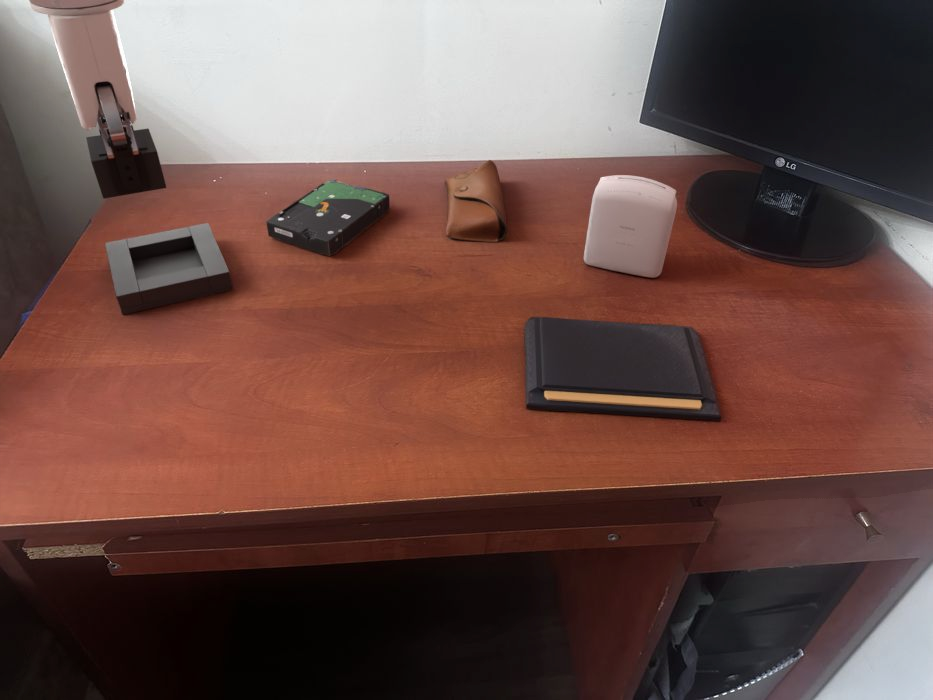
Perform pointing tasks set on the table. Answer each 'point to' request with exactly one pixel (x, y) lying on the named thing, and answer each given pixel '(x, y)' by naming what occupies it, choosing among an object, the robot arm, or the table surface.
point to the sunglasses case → (476, 205)
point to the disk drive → (328, 217)
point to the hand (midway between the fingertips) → (129, 175)
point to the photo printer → (630, 225)
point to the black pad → (143, 144)
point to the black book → (617, 369)
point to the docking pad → (167, 268)
